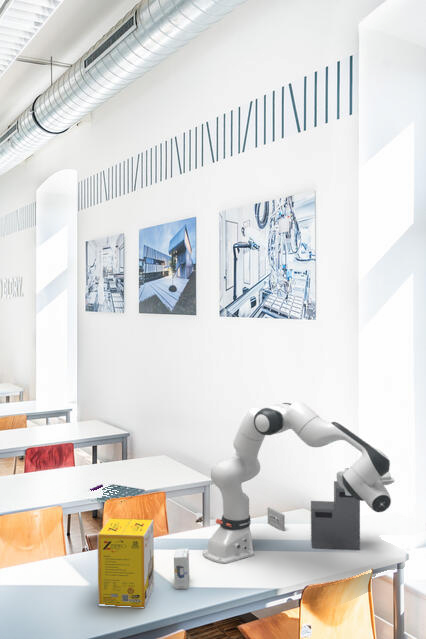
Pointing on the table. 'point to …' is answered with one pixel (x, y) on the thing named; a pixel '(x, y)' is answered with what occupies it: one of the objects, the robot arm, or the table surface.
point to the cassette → (279, 520)
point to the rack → (336, 522)
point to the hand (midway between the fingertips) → (358, 469)
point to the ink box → (181, 569)
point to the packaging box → (125, 562)
